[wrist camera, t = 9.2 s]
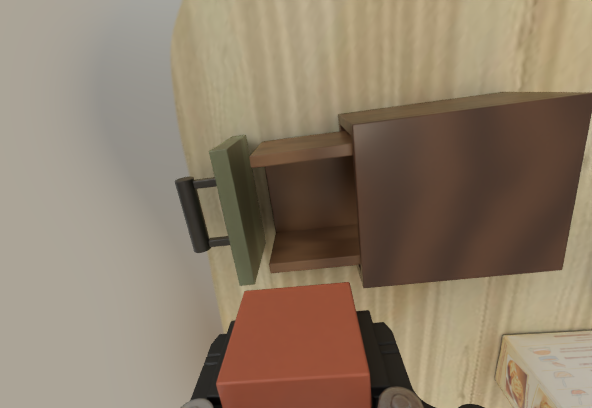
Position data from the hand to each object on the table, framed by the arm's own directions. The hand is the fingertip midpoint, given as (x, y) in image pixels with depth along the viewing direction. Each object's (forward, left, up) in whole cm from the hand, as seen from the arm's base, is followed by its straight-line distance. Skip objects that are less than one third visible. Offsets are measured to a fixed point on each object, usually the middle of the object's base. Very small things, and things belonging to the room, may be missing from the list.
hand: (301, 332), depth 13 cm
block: (0, 0, 0) cm, 0 cm away
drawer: (-2, 0, -16) cm, 16 cm away
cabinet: (+6, +9, -17) cm, 20 cm away
